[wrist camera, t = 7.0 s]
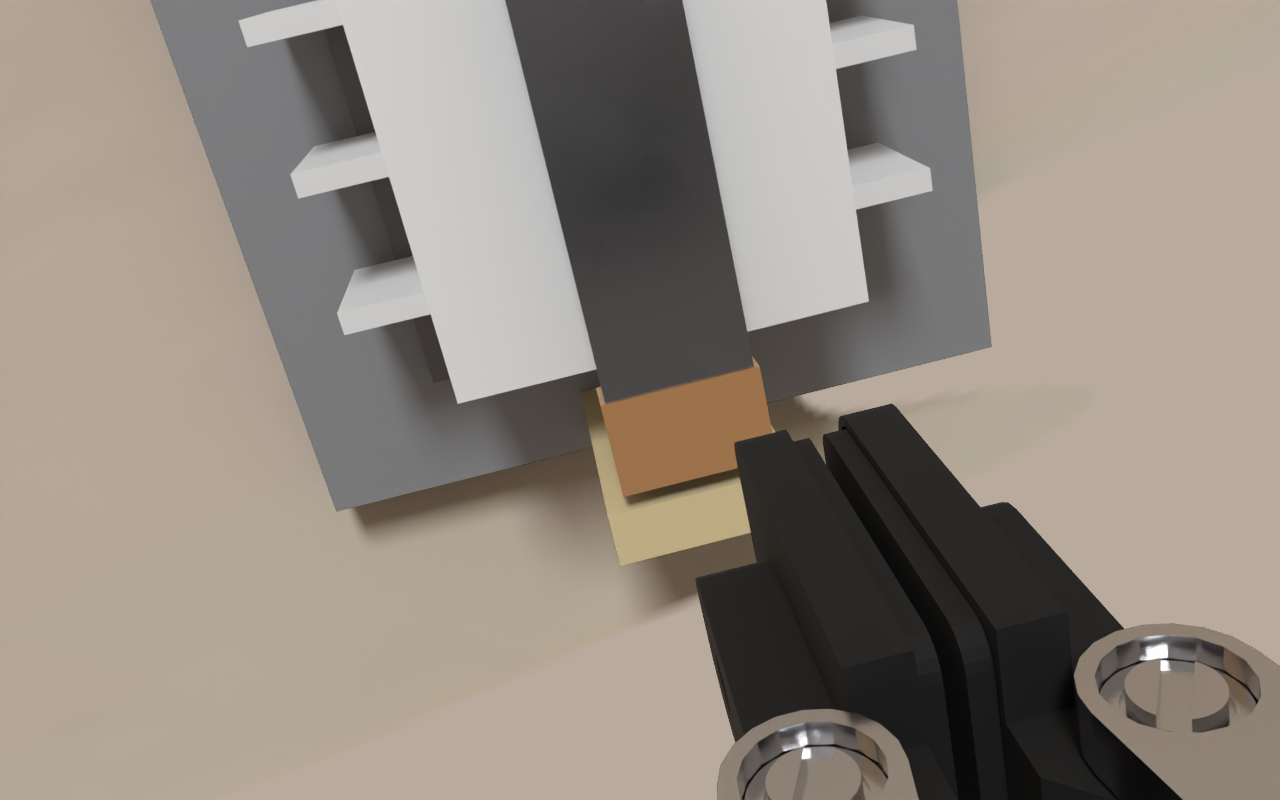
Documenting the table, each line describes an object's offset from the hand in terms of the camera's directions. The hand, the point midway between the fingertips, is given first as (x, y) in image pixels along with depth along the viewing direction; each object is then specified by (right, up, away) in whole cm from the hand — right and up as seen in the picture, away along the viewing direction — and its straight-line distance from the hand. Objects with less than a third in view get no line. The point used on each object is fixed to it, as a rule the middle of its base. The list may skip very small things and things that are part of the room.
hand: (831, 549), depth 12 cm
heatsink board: (-4, +10, +16) cm, 19 cm away
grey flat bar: (-3, +8, +10) cm, 13 cm away
